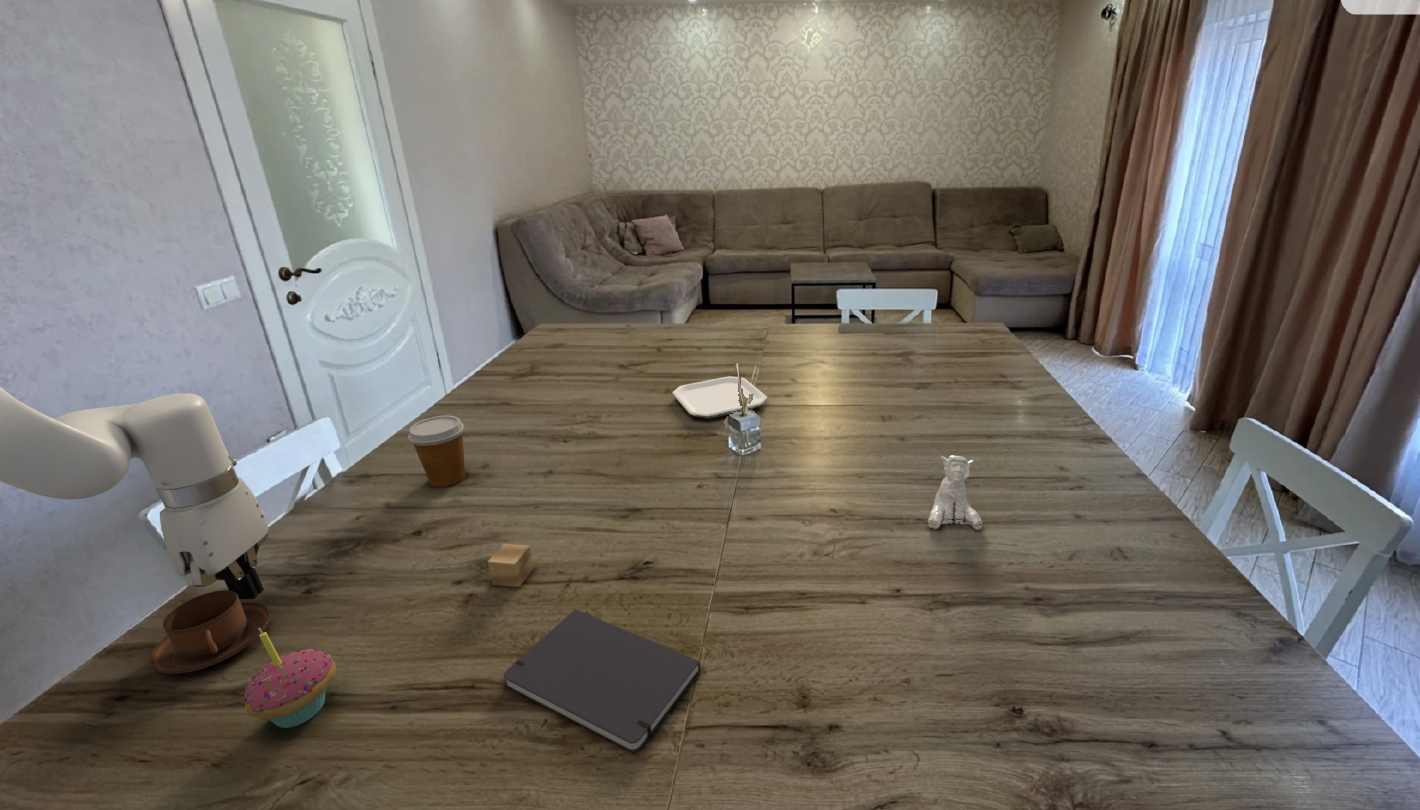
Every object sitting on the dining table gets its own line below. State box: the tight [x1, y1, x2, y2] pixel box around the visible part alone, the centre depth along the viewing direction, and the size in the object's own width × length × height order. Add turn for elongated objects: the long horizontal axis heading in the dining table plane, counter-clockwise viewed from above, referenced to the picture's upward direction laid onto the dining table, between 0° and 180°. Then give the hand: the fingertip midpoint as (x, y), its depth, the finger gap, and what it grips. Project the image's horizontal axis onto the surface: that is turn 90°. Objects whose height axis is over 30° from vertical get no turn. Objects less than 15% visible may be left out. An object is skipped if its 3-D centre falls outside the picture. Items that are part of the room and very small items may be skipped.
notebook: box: [503, 608, 701, 753], centre depth 77 cm, size 13×2×21 cm
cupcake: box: [243, 628, 337, 729], centre depth 71 cm, size 9×8×12 cm
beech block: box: [487, 543, 535, 588], centre depth 95 cm, size 4×4×4 cm
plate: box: [671, 375, 768, 420], centre depth 157 cm, size 21×21×2 cm
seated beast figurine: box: [927, 455, 984, 531], centre depth 108 cm, size 10×9×12 cm
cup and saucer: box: [149, 589, 270, 675], centre depth 82 cm, size 12×12×6 cm
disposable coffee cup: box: [407, 415, 466, 488], centre depth 120 cm, size 10×10×12 cm
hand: (249, 595), depth 87 cm, fingers closed
